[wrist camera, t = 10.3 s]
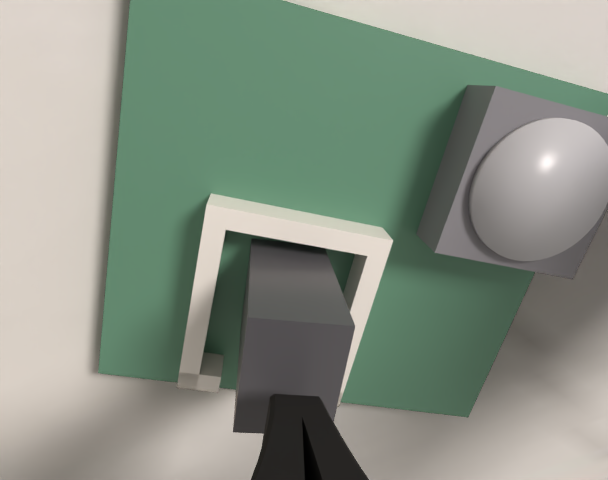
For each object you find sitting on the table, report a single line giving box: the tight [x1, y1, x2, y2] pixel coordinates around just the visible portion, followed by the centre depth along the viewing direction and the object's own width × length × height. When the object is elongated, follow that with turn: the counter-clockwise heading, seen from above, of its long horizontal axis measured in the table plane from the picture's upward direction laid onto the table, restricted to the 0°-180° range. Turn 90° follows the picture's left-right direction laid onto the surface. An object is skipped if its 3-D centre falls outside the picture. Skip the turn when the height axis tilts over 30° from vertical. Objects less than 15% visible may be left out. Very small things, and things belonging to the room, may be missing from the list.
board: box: [98, 0, 608, 417], centre depth 17 cm, size 18×16×3 cm
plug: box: [233, 238, 355, 434], centre depth 15 cm, size 3×6×6 cm, turn 171°
